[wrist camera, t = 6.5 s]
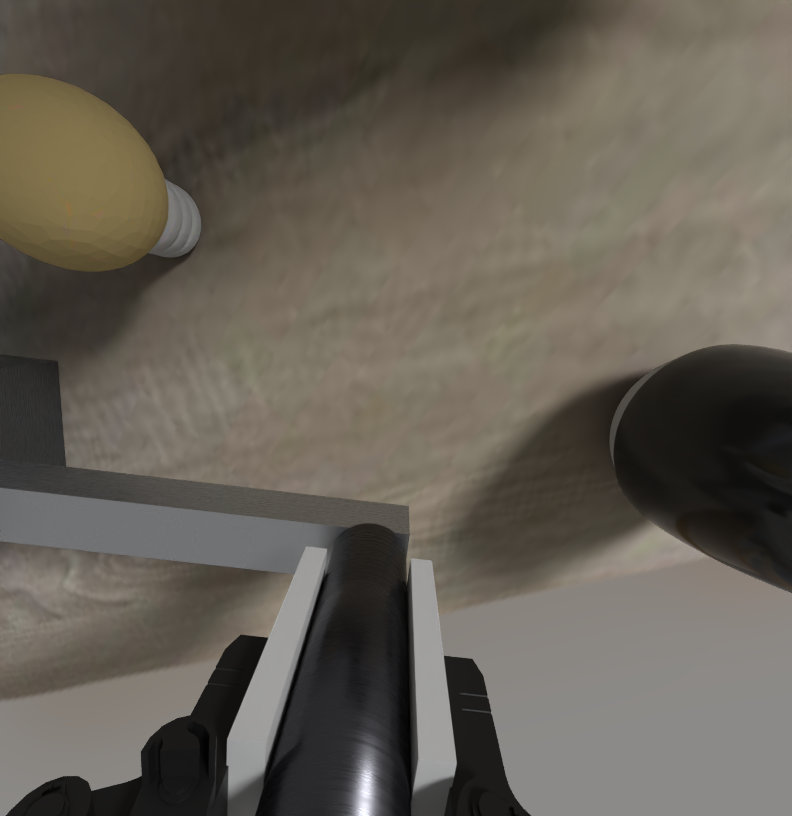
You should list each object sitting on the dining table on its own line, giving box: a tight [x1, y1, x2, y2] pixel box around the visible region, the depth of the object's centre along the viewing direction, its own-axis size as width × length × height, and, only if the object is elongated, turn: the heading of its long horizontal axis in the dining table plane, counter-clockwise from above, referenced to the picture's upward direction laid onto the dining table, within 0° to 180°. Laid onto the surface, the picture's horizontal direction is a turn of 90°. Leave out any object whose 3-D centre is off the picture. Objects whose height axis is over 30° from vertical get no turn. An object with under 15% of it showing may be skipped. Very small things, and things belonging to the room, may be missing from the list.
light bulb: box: [0, 74, 201, 272], centre depth 17 cm, size 6×6×10 cm
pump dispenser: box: [609, 344, 792, 593], centre depth 17 cm, size 10×10×15 cm
